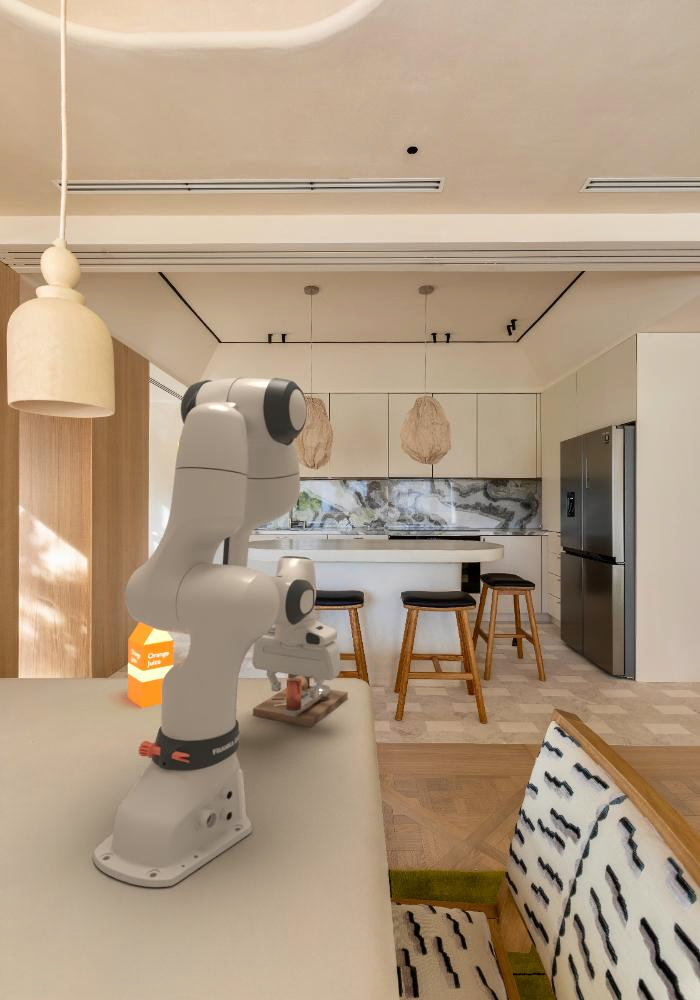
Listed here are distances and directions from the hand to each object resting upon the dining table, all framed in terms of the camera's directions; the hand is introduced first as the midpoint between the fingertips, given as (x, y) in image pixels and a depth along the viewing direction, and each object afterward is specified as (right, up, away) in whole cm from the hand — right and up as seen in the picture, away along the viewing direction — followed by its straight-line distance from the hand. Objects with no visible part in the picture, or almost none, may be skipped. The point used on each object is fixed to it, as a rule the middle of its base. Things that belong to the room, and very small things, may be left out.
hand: (295, 693), depth 121 cm
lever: (+2, -5, +6) cm, 8 cm away
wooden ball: (-1, -5, +16) cm, 17 cm away
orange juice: (-36, -6, +14) cm, 40 cm away
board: (+1, -7, +11) cm, 13 cm away
